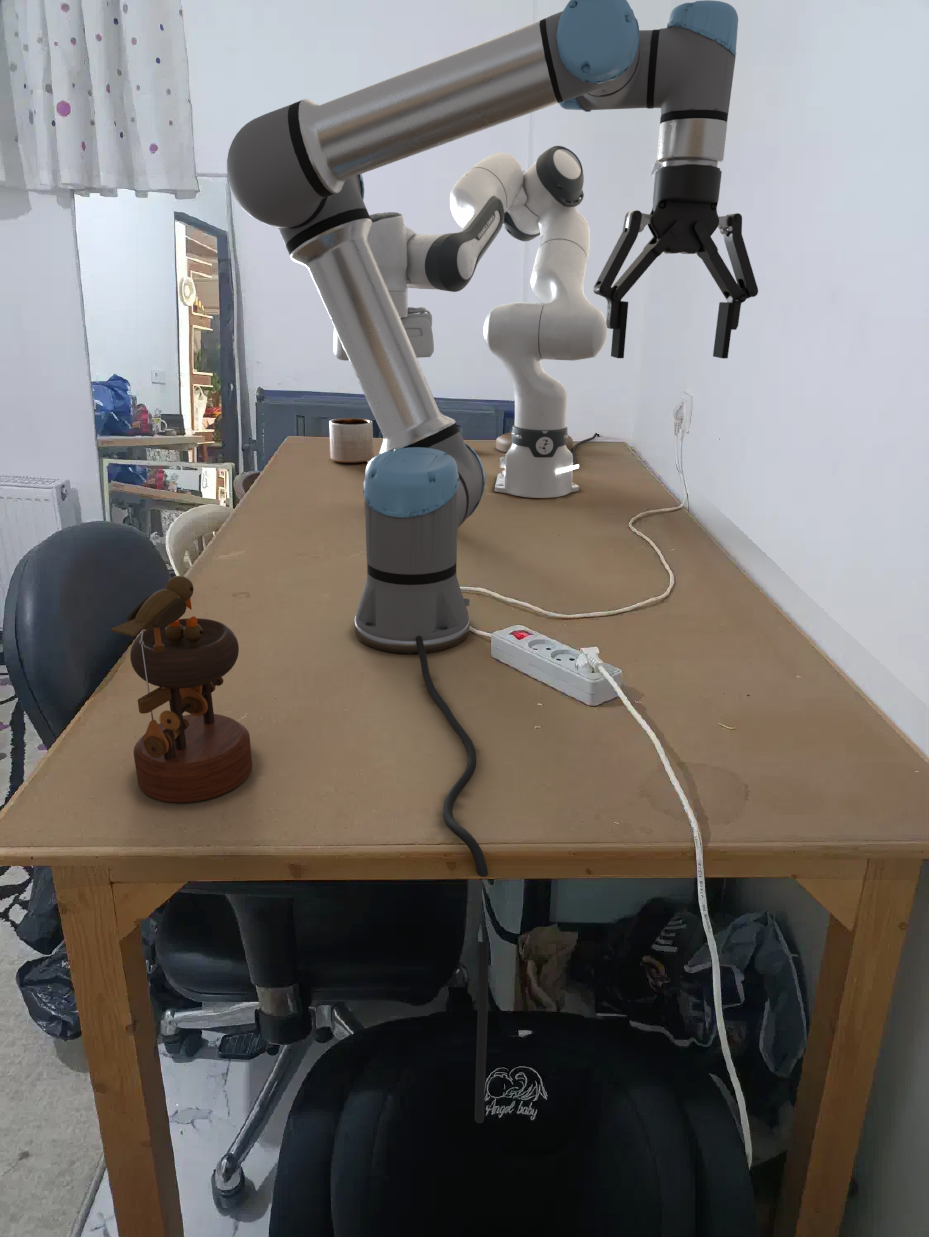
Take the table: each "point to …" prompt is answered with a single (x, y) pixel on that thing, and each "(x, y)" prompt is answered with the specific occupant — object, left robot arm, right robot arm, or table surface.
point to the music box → (184, 700)
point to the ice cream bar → (505, 442)
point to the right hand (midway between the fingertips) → (385, 383)
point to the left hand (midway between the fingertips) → (669, 357)
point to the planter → (351, 440)
